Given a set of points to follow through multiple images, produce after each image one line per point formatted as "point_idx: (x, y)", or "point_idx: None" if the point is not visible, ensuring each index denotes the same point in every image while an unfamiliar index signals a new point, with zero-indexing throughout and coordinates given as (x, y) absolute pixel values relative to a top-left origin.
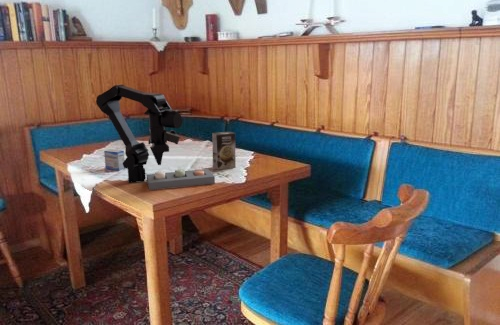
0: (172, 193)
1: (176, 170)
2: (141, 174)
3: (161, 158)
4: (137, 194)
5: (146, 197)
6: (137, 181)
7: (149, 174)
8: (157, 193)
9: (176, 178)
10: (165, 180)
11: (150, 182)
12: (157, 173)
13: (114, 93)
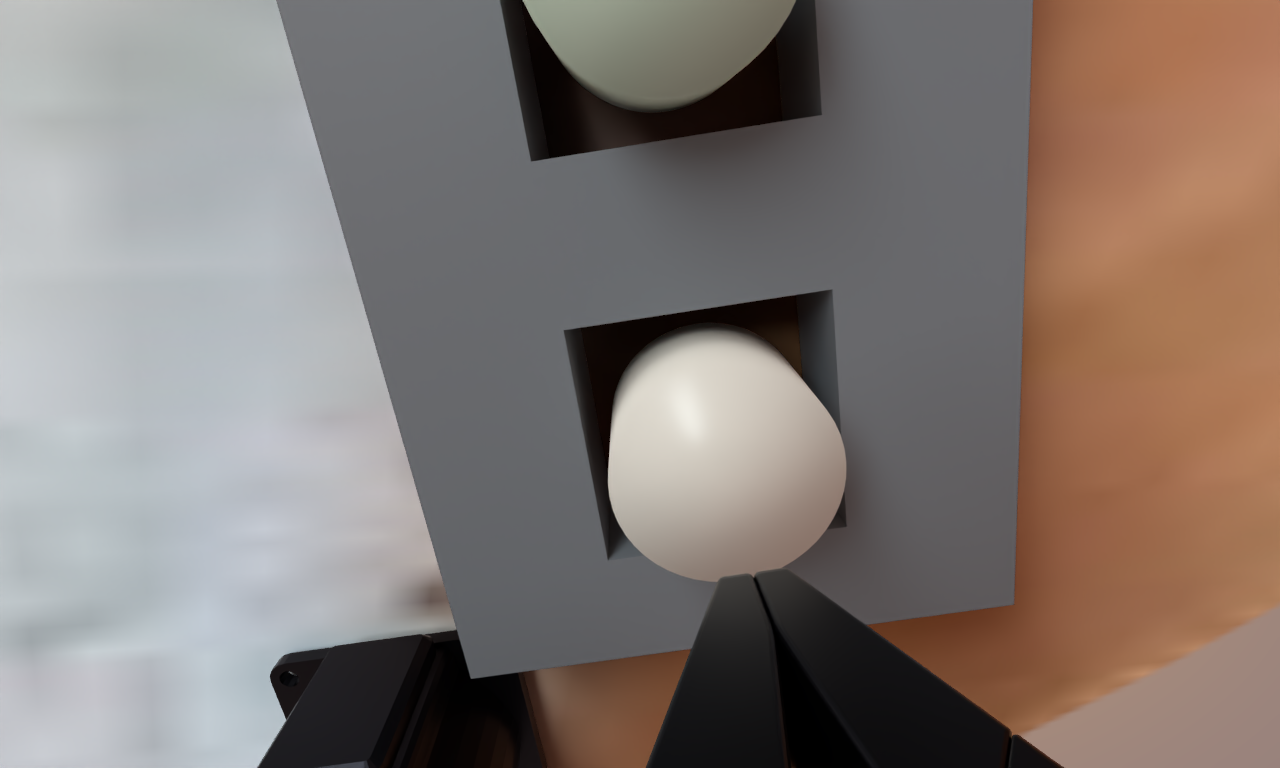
0: (1252, 174)
1: (605, 48)
2: (442, 747)
3: (972, 721)
4: (1073, 661)
5: (1254, 548)
6: (531, 719)
7: (470, 631)
8: (1143, 414)
9: (893, 74)
10: (968, 325)
11: (995, 583)
12: (785, 529)
13: None
